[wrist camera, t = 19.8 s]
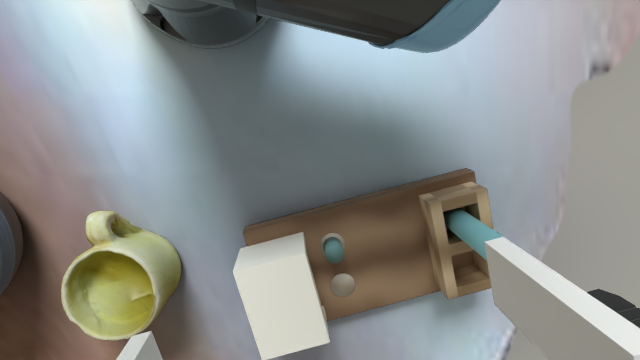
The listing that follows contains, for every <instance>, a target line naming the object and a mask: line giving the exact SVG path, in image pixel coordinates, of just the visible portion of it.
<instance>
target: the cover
mask: <svg viewBox="0 0 640 360" xmlns="http://www.w3.org/2000/svg"><path fill="white" fill-rule="evenodd" d="M233 274H234V277H235V280H236V283H237V286H238V289H239V292H240V295H241V298H242V301H243V304H244V307H245V310H246V313H247V316H248V319H249V322H250V325H251V328H252V331H253V334H254V337H255V341H256V344H257V347H258V350H259V353H260V356H261V359H262V360H267V359H271V358H275V357H278V356H282V355H286V354H289V353H293V352H297V351H301V350H304V349H308V348H312V347H315V346H319V345H323V344H327V343H330V338H329V332H328V325H327V319H326V313H325V309H324V306H321V302H320V299H319V295H318V291H317V288H316V284H315V281H314V277H313V274H312V270H311V266H310V263H309V259H308V256H307V252H306V244H305V237H304V233H303V232H300V233H296V234H293V235H289V236H285V237H281V238H278V239H274V240H270V241H266V242H262V243H259V244H255V245H251V246H247V247H244V248H240V251H239V254H238V257H237V260H236V263H235V266H234V269H233Z"/></svg>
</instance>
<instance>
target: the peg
mask: <svg viewBox="0 0 640 360" xmlns="http://www.w3.org/2000/svg"><path fill="white" fill-rule="evenodd" d="M443 216H444V222H445V226H446V227H447V228H448V229H450V230H451V231H452V232H453V233H454V234H456V235H457V236H458V237H459V238H460V239H461V240H463V241H464V242H465V243H466V244H467V245H469V246H470V247H471V248H472V249H473V250H475V251H476V252H477V253H478V254H479V255H481V256H482V257H483V258H484V259H485V260H487V256H486V249H485V243H484V242H486V241H489V240H493V239H497V238H501V237H504V236H502V235H500V234H499V233H497V232H496V231H494V230H493V229H491V228H490V227H488V226H487V225H485V224H484V223H482V222H481V221H479V220H478V219H476V218H475V217H473V216H472V215H470V214H468V213H467V212H465V211H464V210H462V209H461V208H456V209H452V210H448V211H444V212H443ZM506 239H507V238H506ZM509 241H510V240H509ZM510 242H511V241H510ZM512 243H513V242H512ZM513 244H514V243H513ZM515 245H516V244H515ZM516 246H517V245H516ZM518 247H519V246H518ZM519 248H520V247H519Z"/></svg>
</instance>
